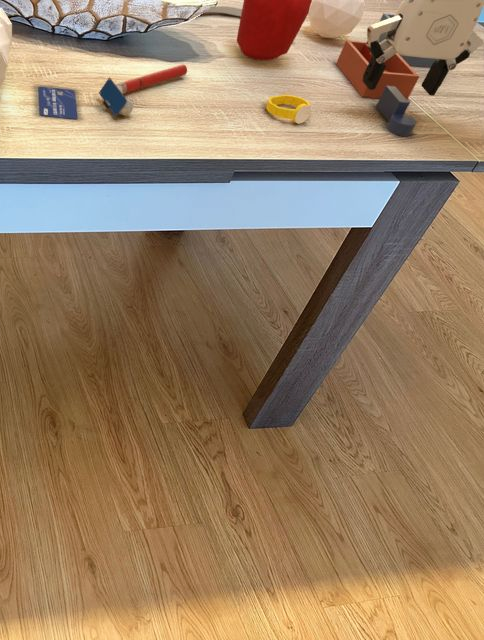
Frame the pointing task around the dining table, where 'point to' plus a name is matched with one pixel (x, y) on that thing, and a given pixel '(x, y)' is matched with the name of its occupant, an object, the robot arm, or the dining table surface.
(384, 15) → the blue bin
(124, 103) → the ultrasonic sensor
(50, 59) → the dining table surface
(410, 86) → the red bin
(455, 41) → the robot arm
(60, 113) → the credit card
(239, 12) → the machete
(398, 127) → the blue spoon
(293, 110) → the watch
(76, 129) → the dining table surface
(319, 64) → the dining table surface
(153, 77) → the flare
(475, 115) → the dining table surface
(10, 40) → the bowl
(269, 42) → the red rounded piece
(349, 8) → the decorative ball
